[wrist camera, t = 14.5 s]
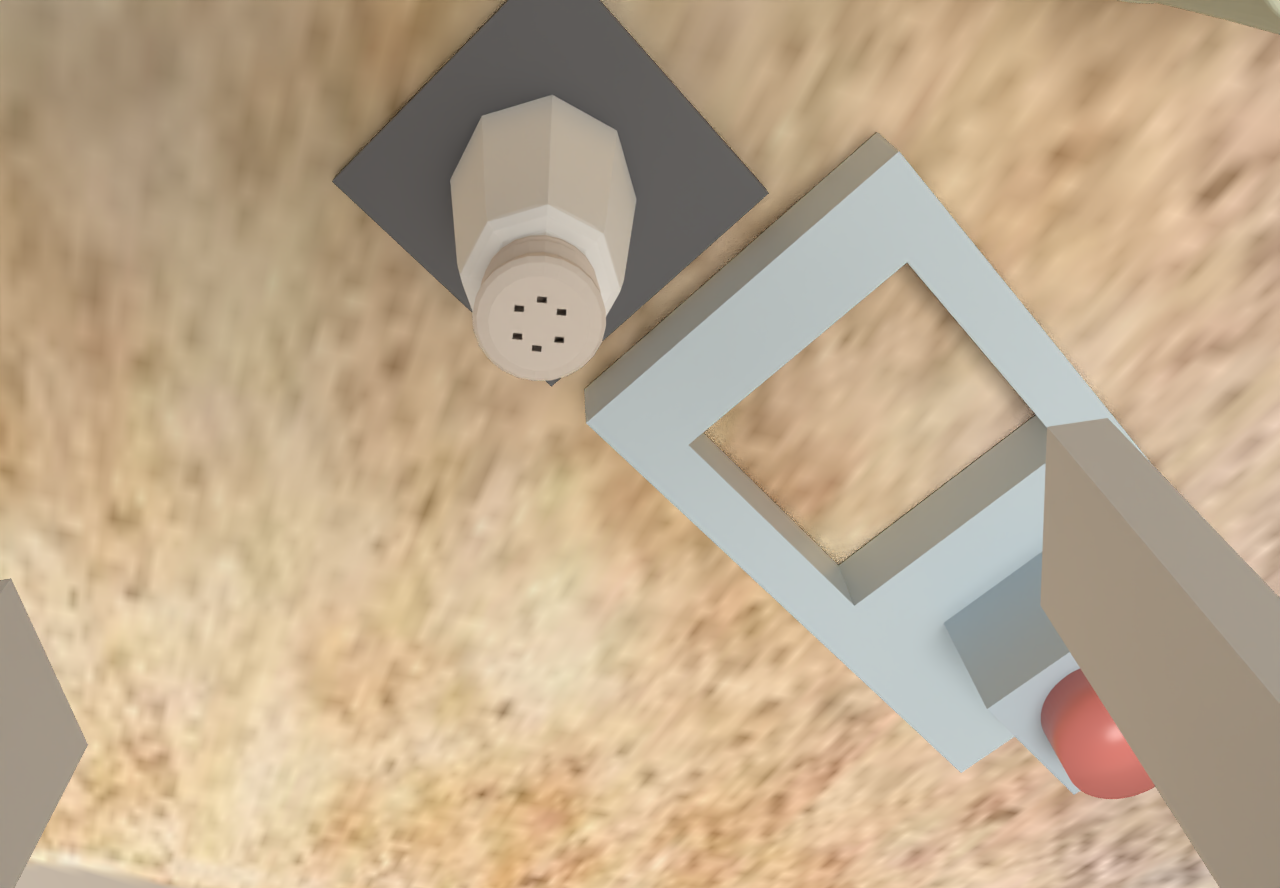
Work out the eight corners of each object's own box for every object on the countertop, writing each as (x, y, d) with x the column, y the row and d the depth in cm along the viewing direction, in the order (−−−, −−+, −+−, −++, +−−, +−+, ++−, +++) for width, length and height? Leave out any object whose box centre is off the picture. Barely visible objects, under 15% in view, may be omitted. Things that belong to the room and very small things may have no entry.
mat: (335, 176, 34) (332, 181, 34) (556, -50, 32) (556, -48, 31) (551, 379, 37) (551, 386, 37) (765, 188, 35) (768, 193, 35)
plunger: (1018, 709, 36) (1042, 753, 34) (1116, 641, 35) (1147, 683, 33) (1080, 771, 37) (1107, 817, 35) (1177, 707, 36) (1209, 751, 34)
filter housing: (584, 389, 38) (590, 495, 31) (877, 132, 35) (947, 193, 28) (941, 727, 45) (1002, 867, 39) (1208, 541, 42) (1322, 661, 36)
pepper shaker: (625, 285, 36) (651, 449, 26) (446, 268, 35) (403, 430, 25) (647, 104, 33) (685, 210, 23) (455, 82, 33) (412, 181, 23)
